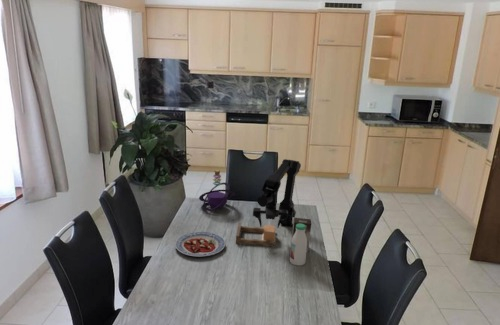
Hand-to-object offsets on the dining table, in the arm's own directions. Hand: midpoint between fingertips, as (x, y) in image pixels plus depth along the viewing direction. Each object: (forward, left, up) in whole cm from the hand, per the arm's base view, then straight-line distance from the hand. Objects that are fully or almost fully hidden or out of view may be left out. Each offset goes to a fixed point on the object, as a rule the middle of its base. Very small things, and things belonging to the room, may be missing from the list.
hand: (269, 227), depth 209 cm
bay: (+6, 0, -7) cm, 9 cm away
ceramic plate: (+35, +14, -7) cm, 39 cm away
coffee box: (-17, +8, -7) cm, 20 cm away
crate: (0, 0, -7) cm, 7 cm away
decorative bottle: (+34, -38, -7) cm, 52 cm away
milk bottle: (-15, +22, -7) cm, 27 cm away
